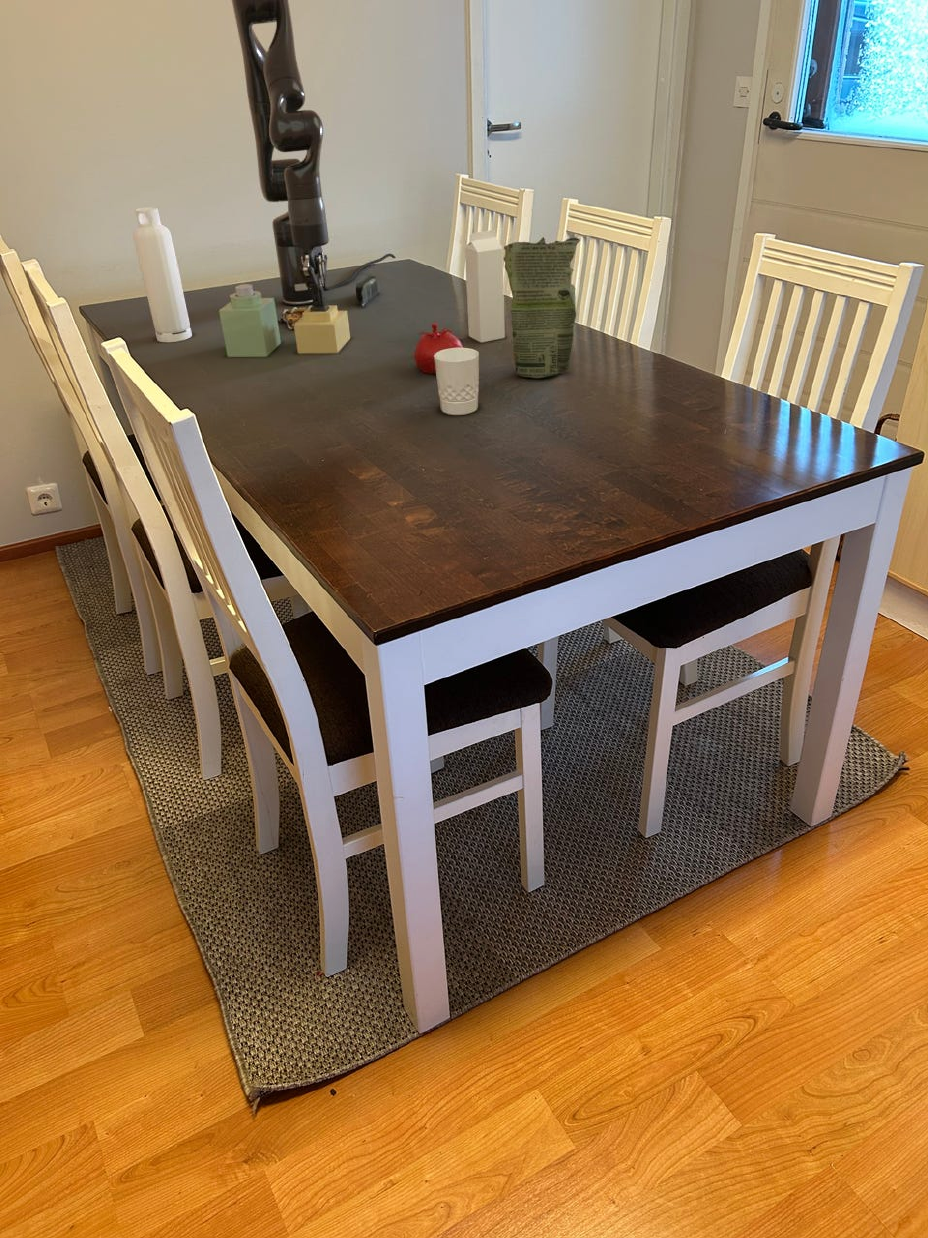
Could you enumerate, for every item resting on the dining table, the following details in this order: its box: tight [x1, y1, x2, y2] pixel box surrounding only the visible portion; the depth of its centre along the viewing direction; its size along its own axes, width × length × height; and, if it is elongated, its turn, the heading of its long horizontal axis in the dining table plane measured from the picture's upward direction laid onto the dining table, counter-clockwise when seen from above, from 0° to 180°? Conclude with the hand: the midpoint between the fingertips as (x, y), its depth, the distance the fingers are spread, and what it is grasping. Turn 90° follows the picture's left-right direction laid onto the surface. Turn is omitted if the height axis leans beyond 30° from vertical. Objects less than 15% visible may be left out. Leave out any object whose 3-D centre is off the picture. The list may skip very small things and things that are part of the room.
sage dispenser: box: [218, 290, 282, 358], centre depth 204 cm, size 10×9×12 cm
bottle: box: [132, 206, 193, 343], centre depth 211 cm, size 8×8×28 cm
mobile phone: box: [355, 275, 379, 308], centre depth 238 cm, size 5×3×15 cm
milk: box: [464, 229, 505, 344], centre depth 200 cm, size 6×6×22 cm
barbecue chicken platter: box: [278, 306, 307, 330], centre depth 222 cm, size 7×12×4 cm, turn 29°
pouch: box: [503, 236, 581, 379], centre depth 178 cm, size 11×12×25 cm
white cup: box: [434, 347, 480, 416], centre depth 167 cm, size 8×8×10 cm
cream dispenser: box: [293, 305, 351, 354], centre depth 205 cm, size 11×9×8 cm
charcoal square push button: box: [310, 303, 330, 312], centre depth 203 cm, size 3×3×2 cm
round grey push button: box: [235, 283, 254, 297], centre depth 200 cm, size 4×4×2 cm
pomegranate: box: [413, 323, 464, 375], centre depth 186 cm, size 10×10×9 cm
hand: (319, 305), depth 202 cm, fingers closed
